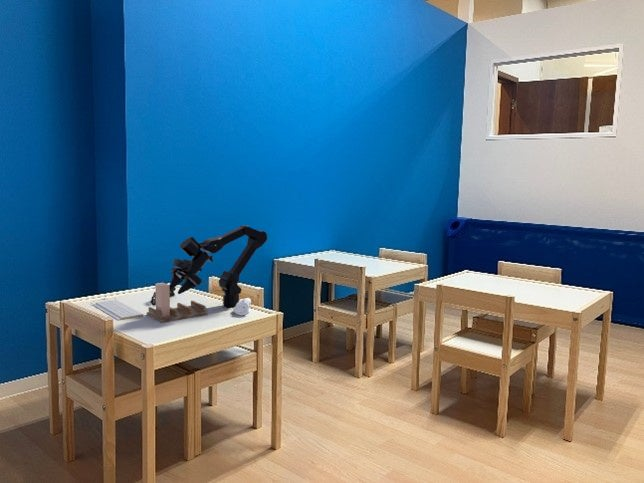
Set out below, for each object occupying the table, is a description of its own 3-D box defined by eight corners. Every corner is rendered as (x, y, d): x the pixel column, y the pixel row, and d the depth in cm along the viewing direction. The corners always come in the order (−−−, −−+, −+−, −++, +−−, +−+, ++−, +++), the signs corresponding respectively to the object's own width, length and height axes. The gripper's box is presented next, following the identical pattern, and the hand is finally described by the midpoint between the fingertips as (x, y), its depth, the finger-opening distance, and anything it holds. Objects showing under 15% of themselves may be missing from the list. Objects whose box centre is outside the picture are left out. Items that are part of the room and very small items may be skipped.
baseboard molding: (114, 322, 220) (143, 317, 228) (114, 315, 220) (143, 311, 228) (89, 306, 244) (116, 303, 251) (89, 300, 243) (116, 296, 251)
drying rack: (191, 307, 244) (191, 299, 243) (208, 314, 233) (208, 306, 232) (146, 314, 230) (146, 306, 230) (161, 322, 219) (161, 314, 219)
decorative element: (159, 306, 246) (159, 293, 245) (148, 305, 246) (148, 293, 245) (177, 295, 268) (177, 283, 267) (167, 294, 268) (167, 283, 268)
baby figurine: (239, 308, 245) (250, 294, 244) (250, 324, 236) (262, 309, 235) (225, 303, 239) (236, 288, 238) (236, 319, 230) (247, 303, 229)
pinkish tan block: (163, 312, 231) (163, 282, 229) (169, 315, 226) (169, 285, 224) (156, 313, 228) (155, 283, 227) (162, 317, 224) (161, 286, 222)
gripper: (174, 248, 237) (151, 276, 232) (194, 254, 223) (169, 284, 218) (191, 264, 243) (168, 291, 238) (211, 270, 229) (188, 300, 224)
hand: (173, 291), depth 229 cm, fingers open, 9 cm apart
